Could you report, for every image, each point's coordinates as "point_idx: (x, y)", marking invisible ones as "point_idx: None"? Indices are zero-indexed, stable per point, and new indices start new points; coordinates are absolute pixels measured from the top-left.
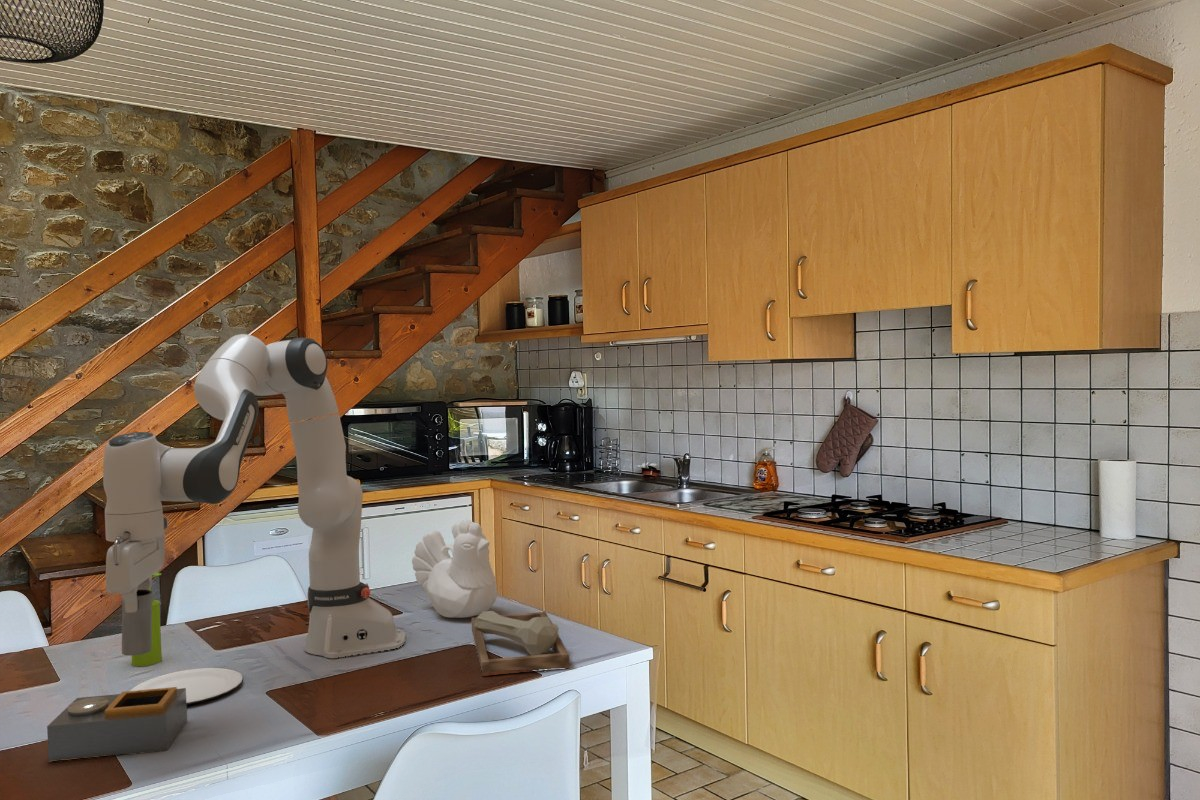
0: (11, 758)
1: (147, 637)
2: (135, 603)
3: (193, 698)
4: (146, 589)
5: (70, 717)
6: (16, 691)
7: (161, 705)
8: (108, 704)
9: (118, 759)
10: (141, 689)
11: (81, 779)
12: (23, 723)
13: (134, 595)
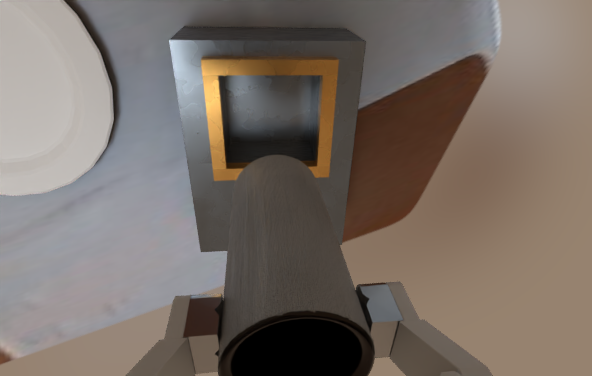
0: None
1: (302, 182)
2: (413, 314)
3: (71, 38)
4: (179, 359)
5: None
6: (15, 352)
7: (338, 62)
8: None
9: None
10: (14, 175)
11: (415, 142)
12: (159, 293)
13: (468, 356)
